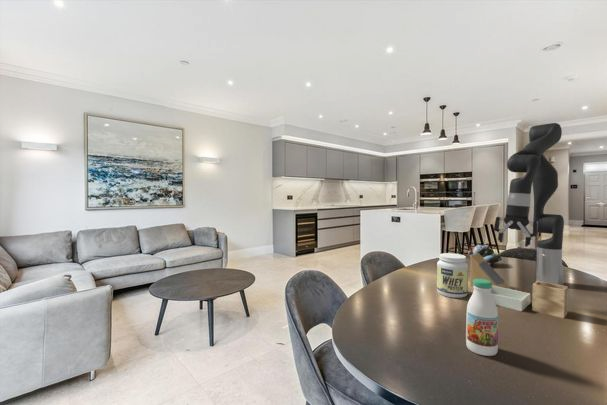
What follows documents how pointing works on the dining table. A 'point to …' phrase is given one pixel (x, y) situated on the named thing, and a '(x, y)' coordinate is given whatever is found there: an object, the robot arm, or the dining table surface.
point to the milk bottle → (482, 320)
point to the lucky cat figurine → (485, 253)
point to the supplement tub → (452, 275)
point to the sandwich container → (484, 272)
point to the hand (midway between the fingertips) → (513, 244)
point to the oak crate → (550, 299)
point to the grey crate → (510, 298)
